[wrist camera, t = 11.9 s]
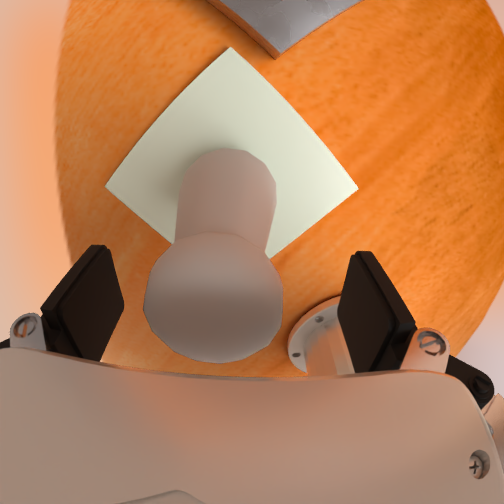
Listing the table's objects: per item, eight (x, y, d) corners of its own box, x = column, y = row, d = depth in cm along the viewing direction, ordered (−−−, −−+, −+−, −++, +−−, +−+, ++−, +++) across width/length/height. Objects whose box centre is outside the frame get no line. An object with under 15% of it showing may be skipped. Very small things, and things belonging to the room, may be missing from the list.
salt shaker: (253, 232, 21) (262, 398, 10) (177, 207, 19) (109, 359, 8) (287, 160, 18) (355, 285, 7) (204, 129, 17) (123, 208, 5)
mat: (354, 184, 20) (358, 188, 19) (229, 284, 24) (229, 290, 23) (231, 48, 14) (230, 46, 14) (109, 183, 19) (104, 186, 18)
